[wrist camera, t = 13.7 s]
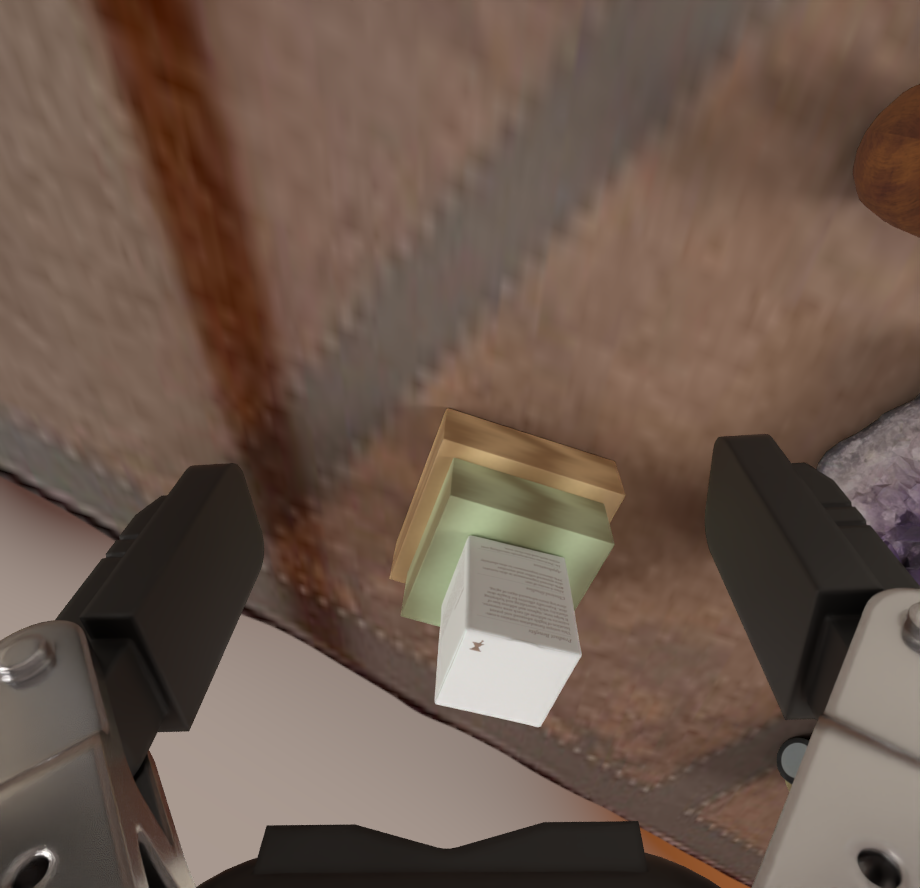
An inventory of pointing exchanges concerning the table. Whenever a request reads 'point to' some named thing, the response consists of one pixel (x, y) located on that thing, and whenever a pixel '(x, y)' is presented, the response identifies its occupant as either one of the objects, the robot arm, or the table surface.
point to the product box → (506, 633)
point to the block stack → (502, 507)
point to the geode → (884, 479)
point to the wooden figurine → (892, 164)
